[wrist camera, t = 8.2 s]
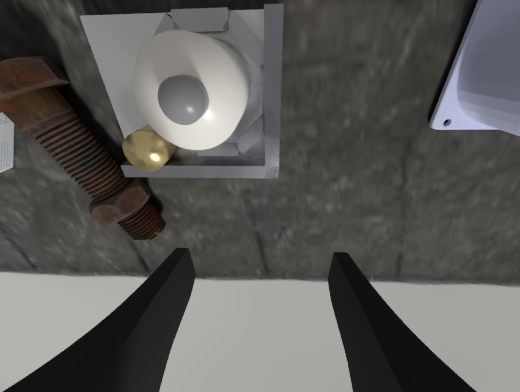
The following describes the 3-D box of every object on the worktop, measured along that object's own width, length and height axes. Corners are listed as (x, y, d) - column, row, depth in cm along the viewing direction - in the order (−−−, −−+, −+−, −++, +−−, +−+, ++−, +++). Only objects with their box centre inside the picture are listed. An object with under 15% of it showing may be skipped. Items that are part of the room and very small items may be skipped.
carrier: (282, 12, 13) (284, -1, 10) (277, 163, 19) (278, 185, 16) (93, 18, 14) (42, 8, 11) (142, 162, 19) (117, 183, 16)
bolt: (162, 211, 25) (47, 71, 17) (188, 215, 22) (61, 46, 14) (117, 251, 21) (-53, 99, 14) (140, 263, 18) (-63, 74, 11)
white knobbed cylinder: (254, 41, 13) (241, 34, 8) (249, 128, 16) (237, 162, 11) (168, 33, 13) (103, 20, 8) (178, 121, 16) (135, 151, 11)
